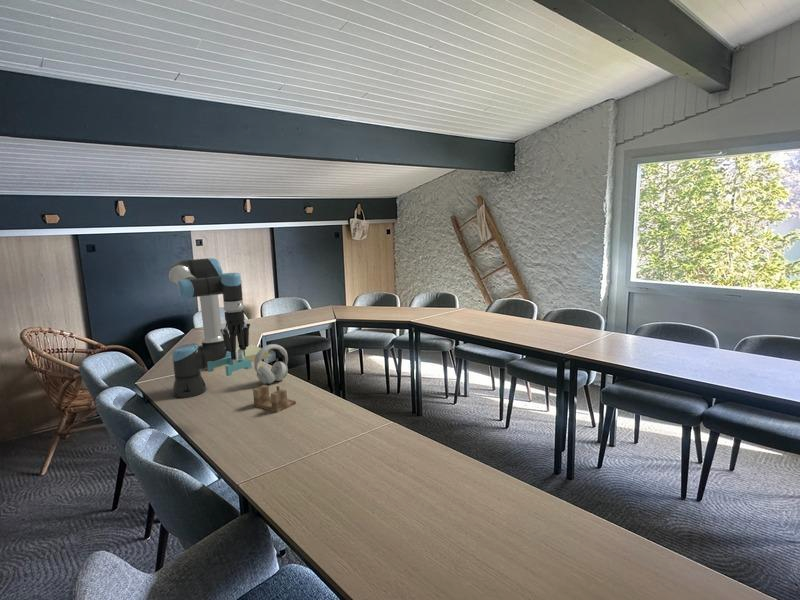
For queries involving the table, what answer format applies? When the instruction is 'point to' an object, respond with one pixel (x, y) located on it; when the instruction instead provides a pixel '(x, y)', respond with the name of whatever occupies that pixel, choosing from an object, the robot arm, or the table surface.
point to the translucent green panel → (249, 354)
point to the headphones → (277, 369)
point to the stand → (271, 399)
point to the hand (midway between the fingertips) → (239, 365)
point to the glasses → (230, 364)
